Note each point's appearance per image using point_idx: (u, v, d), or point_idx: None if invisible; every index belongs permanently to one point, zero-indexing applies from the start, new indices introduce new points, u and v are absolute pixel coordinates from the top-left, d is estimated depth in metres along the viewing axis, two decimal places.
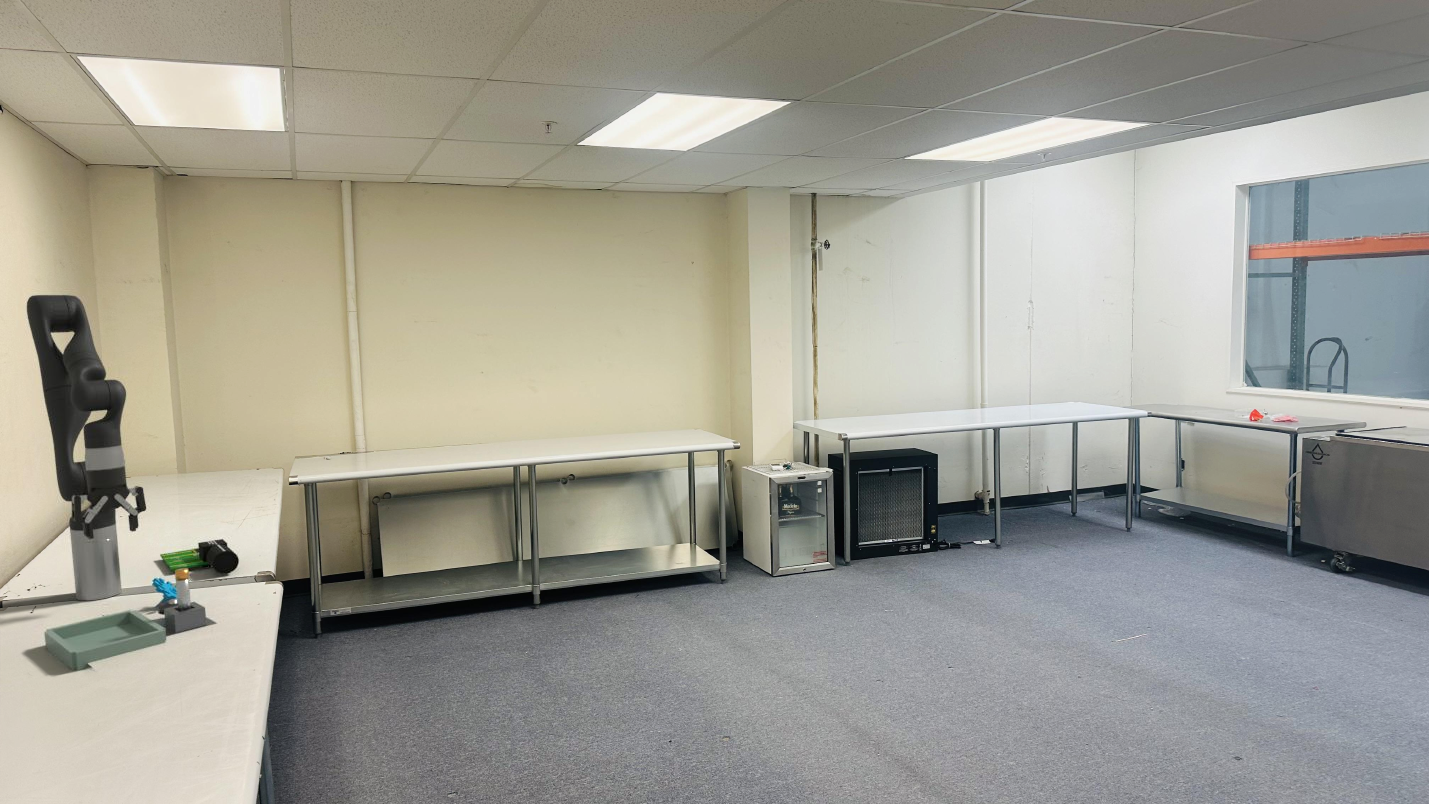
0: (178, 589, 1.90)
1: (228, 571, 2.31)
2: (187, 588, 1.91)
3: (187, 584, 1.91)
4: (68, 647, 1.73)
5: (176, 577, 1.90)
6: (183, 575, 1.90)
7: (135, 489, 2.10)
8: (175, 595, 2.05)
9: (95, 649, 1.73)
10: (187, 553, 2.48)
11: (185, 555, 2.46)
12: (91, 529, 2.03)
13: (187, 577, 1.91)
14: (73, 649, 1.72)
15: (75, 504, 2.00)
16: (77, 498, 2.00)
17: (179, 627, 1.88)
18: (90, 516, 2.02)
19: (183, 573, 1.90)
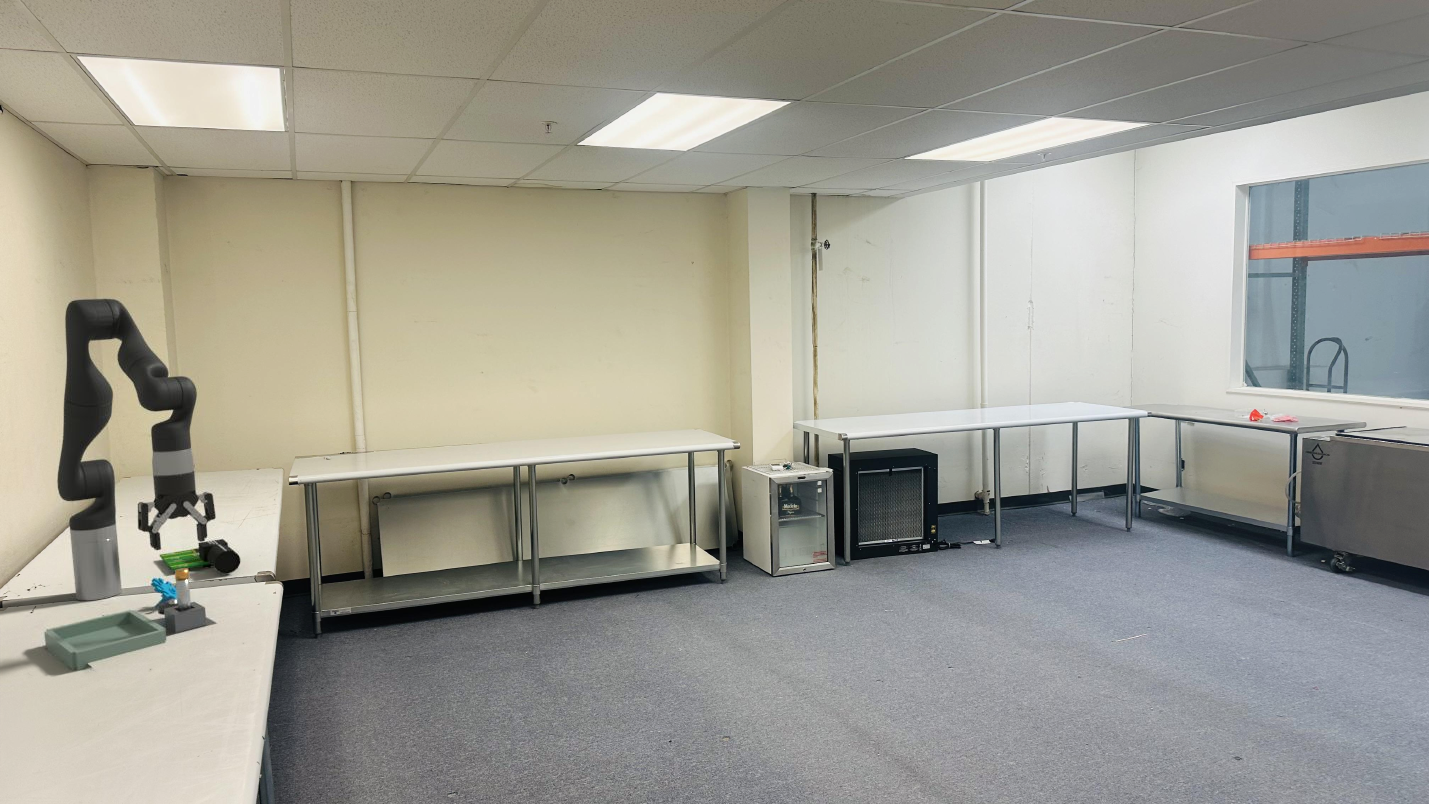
0: (178, 589, 1.90)
1: (230, 571, 2.32)
2: (187, 588, 1.91)
3: (187, 584, 1.91)
4: (68, 647, 1.73)
5: (176, 577, 1.90)
6: (183, 575, 1.90)
7: (204, 496, 1.93)
8: (174, 595, 2.05)
9: (95, 649, 1.73)
10: (187, 553, 2.48)
11: (185, 555, 2.45)
12: (158, 539, 1.86)
13: (187, 577, 1.91)
14: (73, 649, 1.72)
15: (142, 512, 1.83)
16: (144, 506, 1.83)
17: (179, 627, 1.88)
18: (158, 525, 1.85)
19: (183, 573, 1.90)
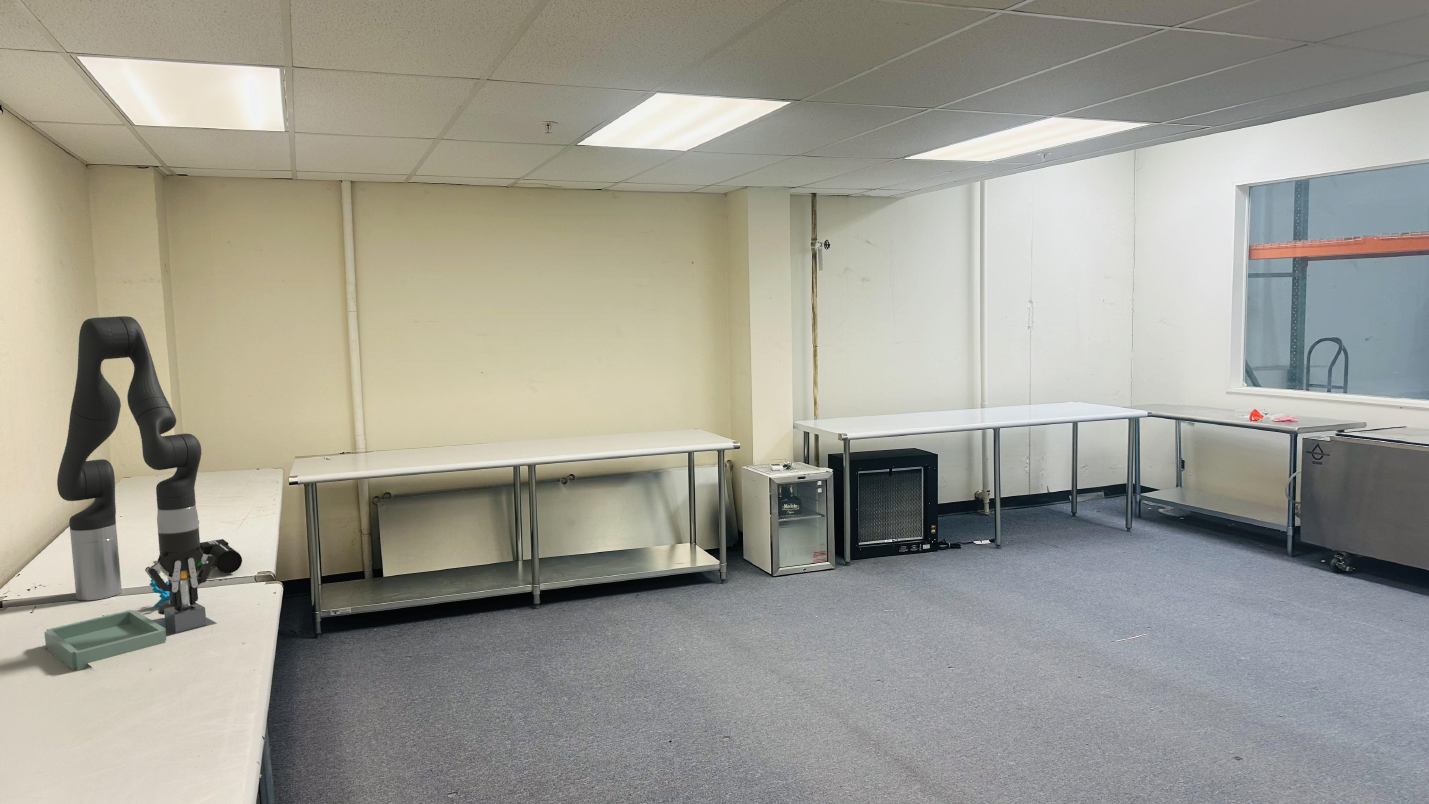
0: (178, 589, 1.90)
1: (231, 570, 2.32)
2: (187, 588, 1.91)
3: (187, 584, 1.91)
4: (68, 647, 1.73)
5: None
6: (183, 575, 1.90)
7: (208, 557, 1.94)
8: None
9: (95, 649, 1.73)
10: None
11: None
12: (178, 598, 1.89)
13: (187, 577, 1.91)
14: (73, 649, 1.72)
15: (154, 577, 1.85)
16: (152, 571, 1.85)
17: (179, 627, 1.88)
18: (175, 584, 1.89)
19: (183, 573, 1.90)
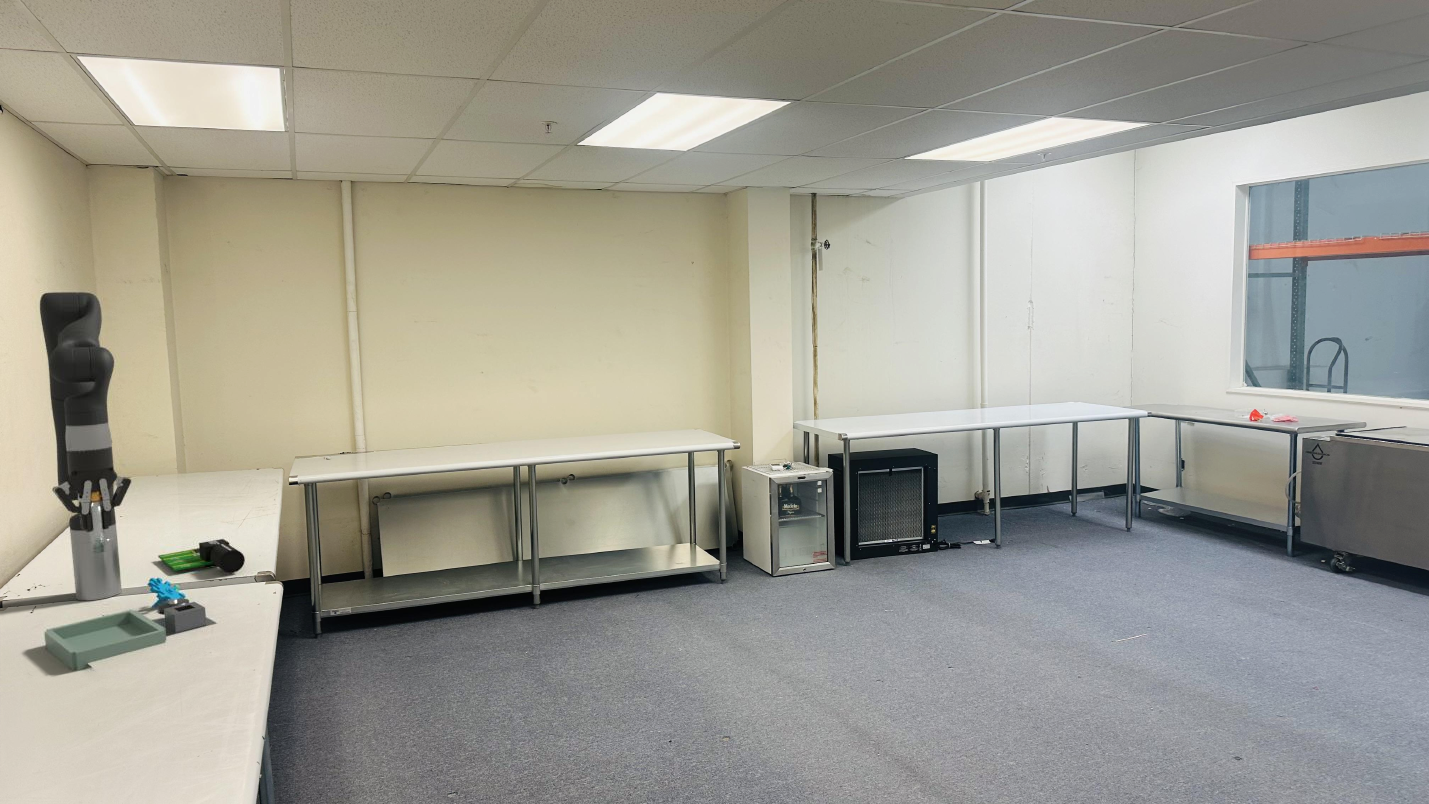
0: (89, 512, 1.79)
1: (234, 570, 2.32)
2: (99, 511, 1.80)
3: (99, 507, 1.80)
4: (68, 647, 1.73)
5: None
6: (94, 497, 1.79)
7: (123, 479, 1.83)
8: (170, 595, 2.05)
9: (95, 649, 1.73)
10: (186, 554, 2.47)
11: (185, 556, 2.45)
12: (89, 521, 1.79)
13: (99, 499, 1.80)
14: (73, 649, 1.72)
15: (61, 497, 1.75)
16: (59, 491, 1.74)
17: (179, 627, 1.88)
18: (85, 506, 1.78)
19: (94, 495, 1.79)
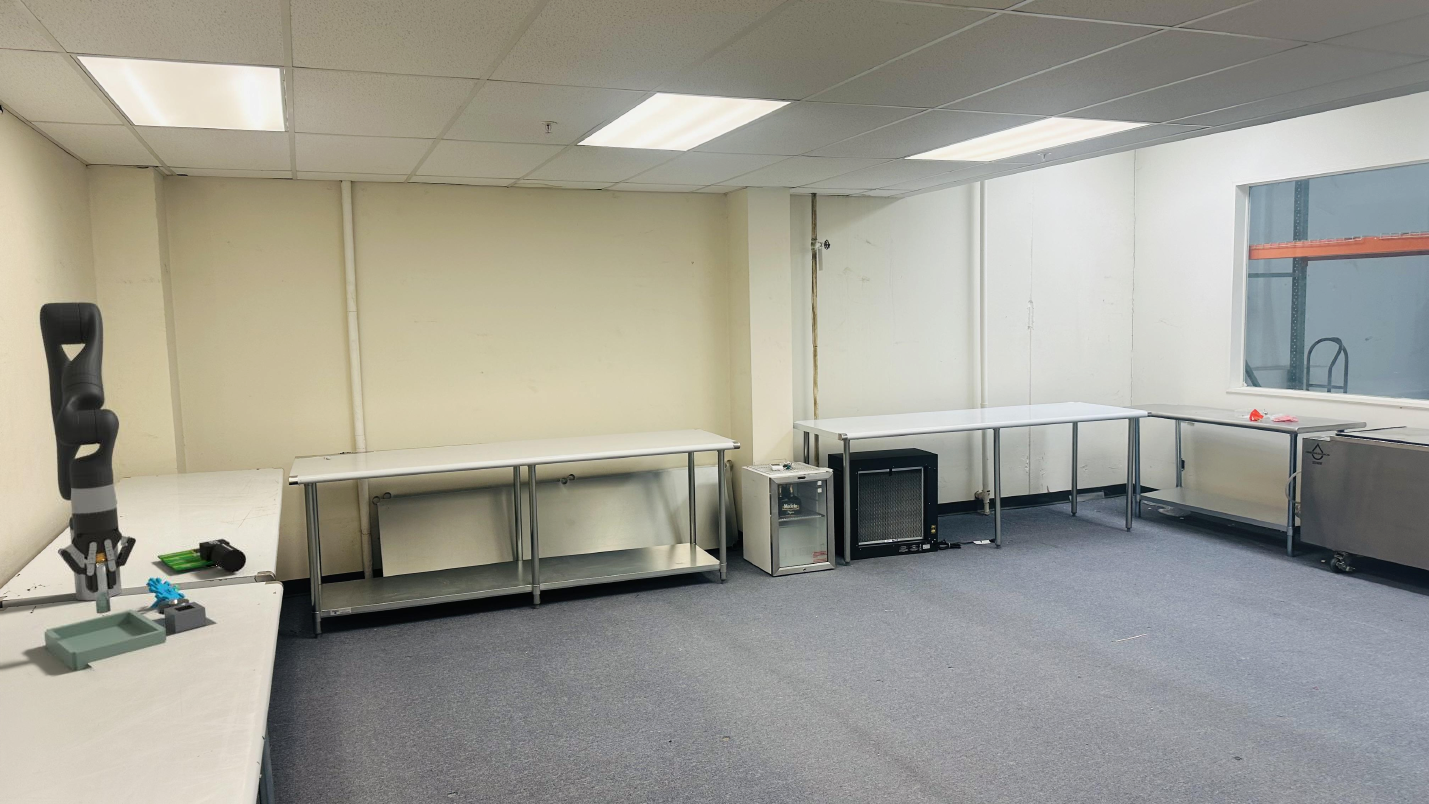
0: (94, 572, 1.80)
1: (236, 570, 2.33)
2: (104, 572, 1.81)
3: (104, 567, 1.81)
4: (68, 647, 1.73)
5: None
6: (99, 558, 1.80)
7: (127, 539, 1.85)
8: (169, 596, 2.05)
9: (95, 649, 1.73)
10: (186, 554, 2.47)
11: (184, 556, 2.45)
12: (94, 582, 1.80)
13: (104, 560, 1.81)
14: (73, 649, 1.72)
15: (66, 559, 1.76)
16: (64, 553, 1.76)
17: (179, 627, 1.88)
18: (90, 567, 1.79)
19: (99, 555, 1.80)
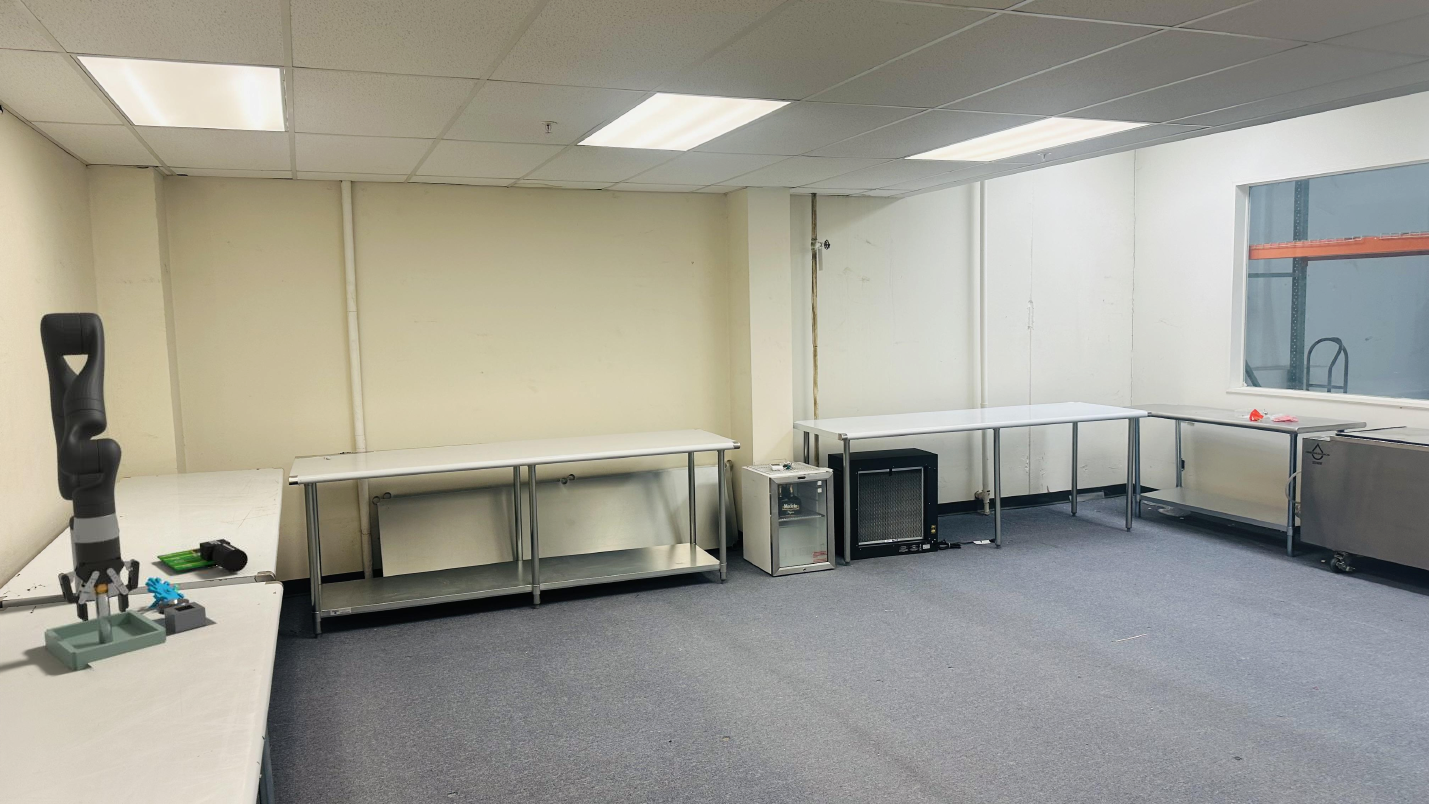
0: (97, 603, 1.81)
1: (237, 569, 2.33)
2: (106, 603, 1.82)
3: (106, 598, 1.82)
4: (68, 647, 1.73)
5: (94, 591, 1.81)
6: (101, 589, 1.81)
7: (131, 563, 1.85)
8: (167, 596, 2.05)
9: (95, 649, 1.73)
10: (185, 554, 2.47)
11: (184, 556, 2.45)
12: (86, 610, 1.79)
13: (106, 591, 1.82)
14: (73, 649, 1.72)
15: (64, 585, 1.76)
16: (65, 578, 1.76)
17: (179, 627, 1.88)
18: (84, 596, 1.79)
19: (101, 586, 1.81)
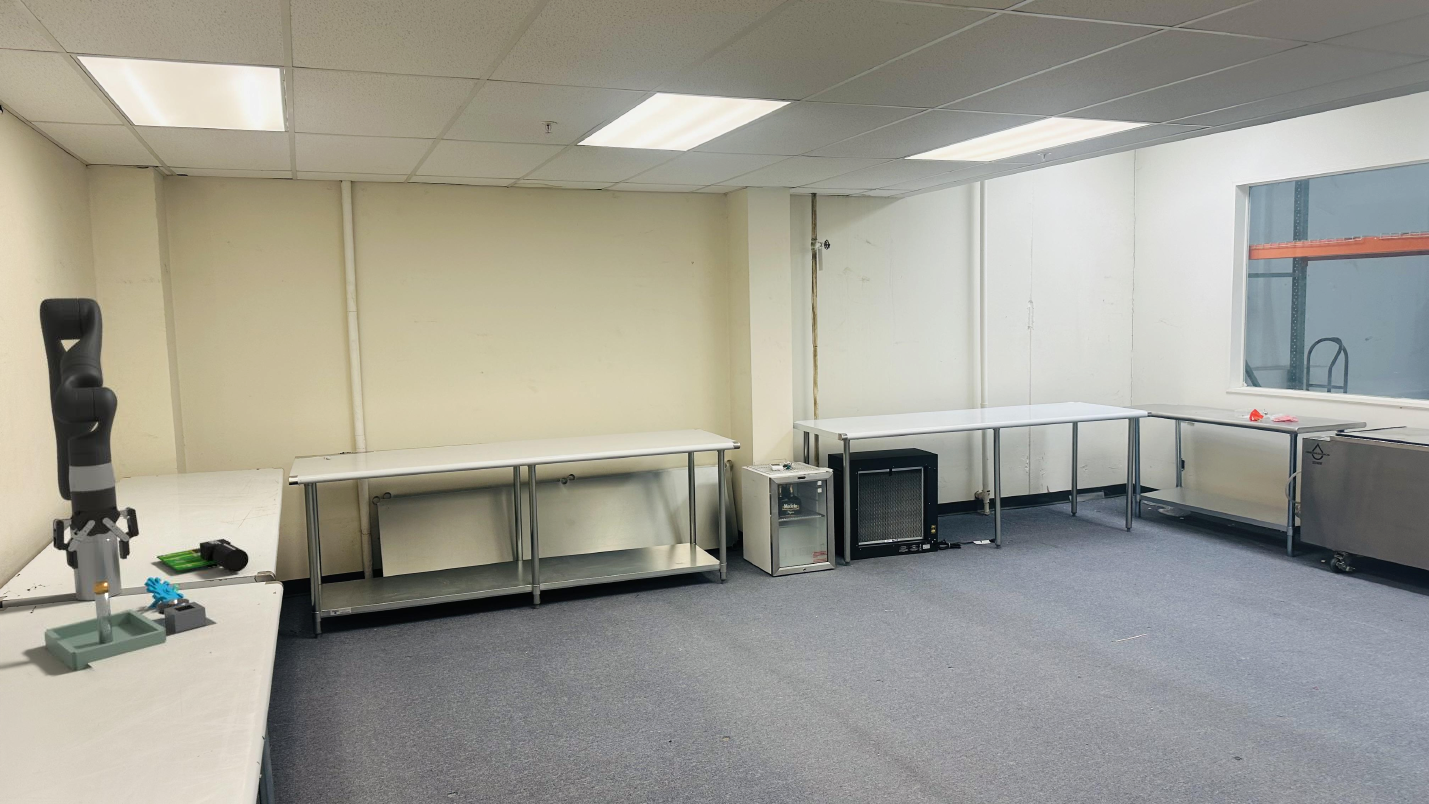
0: (97, 603, 1.81)
1: (238, 569, 2.33)
2: (107, 603, 1.82)
3: (107, 598, 1.82)
4: (68, 647, 1.73)
5: (95, 591, 1.81)
6: (102, 589, 1.81)
7: (126, 511, 1.84)
8: (167, 596, 2.05)
9: (95, 649, 1.73)
10: (185, 554, 2.47)
11: (184, 556, 2.45)
12: (75, 558, 1.77)
13: (107, 591, 1.82)
14: (73, 649, 1.72)
15: (57, 530, 1.74)
16: (59, 523, 1.75)
17: (179, 627, 1.88)
18: (74, 543, 1.77)
19: (102, 586, 1.81)
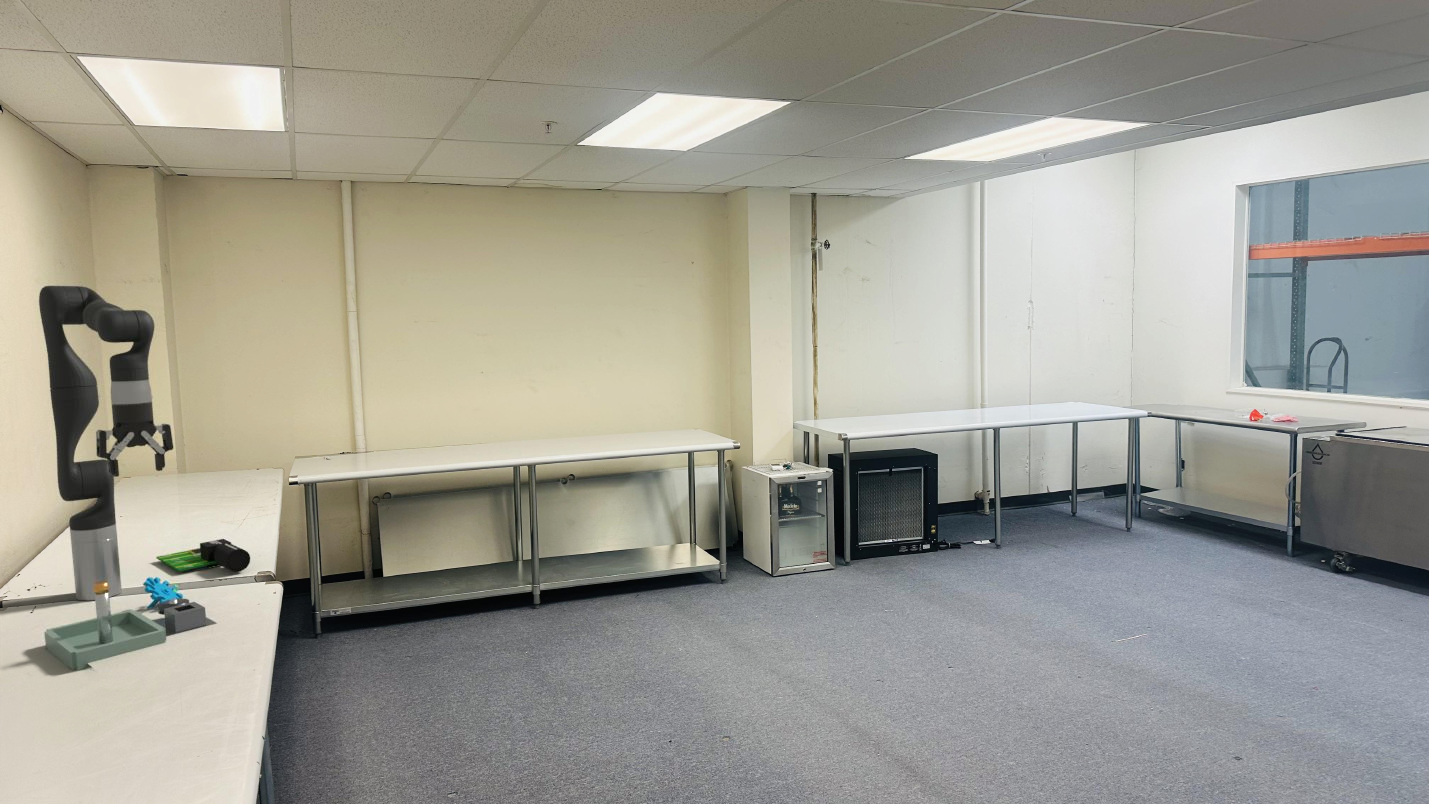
0: (97, 603, 1.81)
1: (240, 569, 2.33)
2: (107, 603, 1.82)
3: (107, 598, 1.82)
4: (68, 647, 1.73)
5: (95, 591, 1.81)
6: (102, 589, 1.81)
7: (162, 427, 2.00)
8: (165, 596, 2.05)
9: (95, 649, 1.73)
10: (185, 554, 2.47)
11: (184, 556, 2.44)
12: (116, 466, 1.93)
13: (107, 591, 1.82)
14: (73, 649, 1.72)
15: (100, 439, 1.90)
16: (102, 433, 1.90)
17: (179, 627, 1.88)
18: (116, 453, 1.93)
19: (102, 587, 1.81)
